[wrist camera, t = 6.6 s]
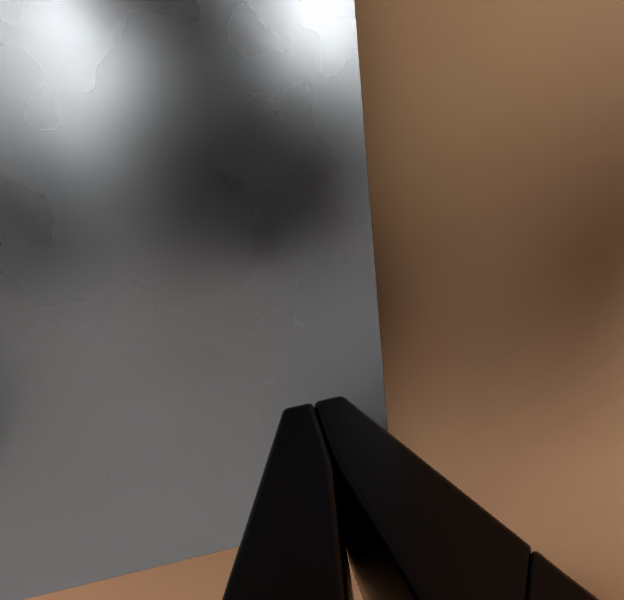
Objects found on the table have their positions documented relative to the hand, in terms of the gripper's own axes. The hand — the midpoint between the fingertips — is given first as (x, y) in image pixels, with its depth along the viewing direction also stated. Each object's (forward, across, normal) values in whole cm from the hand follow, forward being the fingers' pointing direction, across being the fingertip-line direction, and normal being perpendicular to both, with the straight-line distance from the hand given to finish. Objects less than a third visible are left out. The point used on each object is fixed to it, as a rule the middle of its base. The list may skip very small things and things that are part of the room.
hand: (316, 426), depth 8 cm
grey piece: (+4, +8, 0) cm, 9 cm away
